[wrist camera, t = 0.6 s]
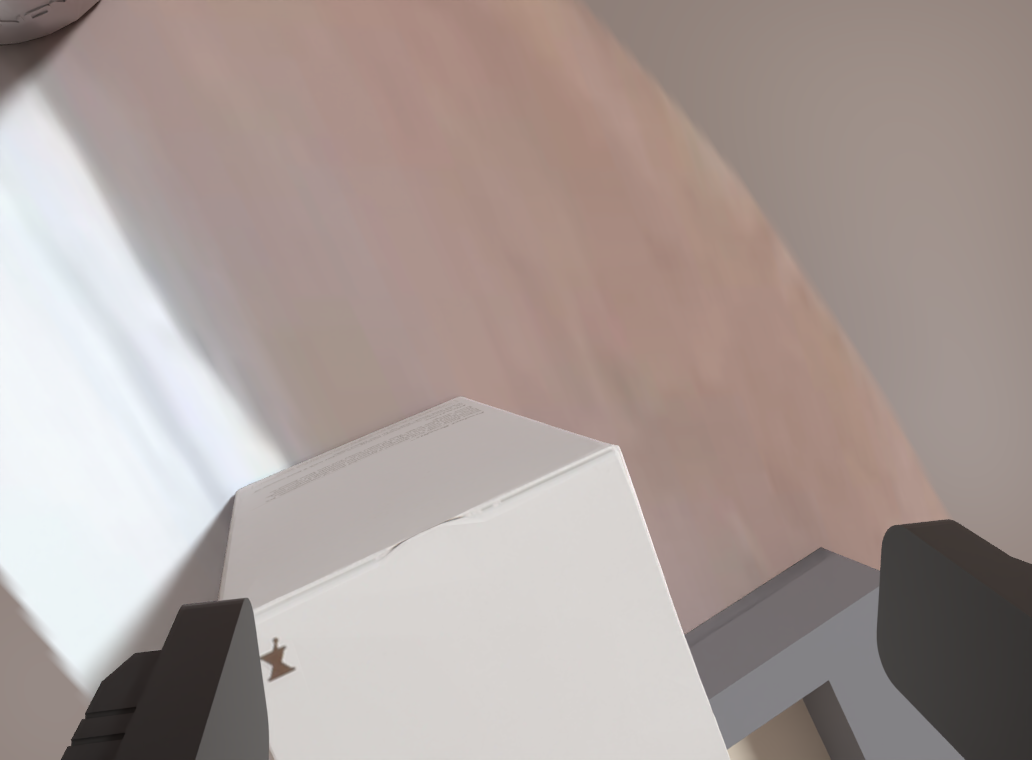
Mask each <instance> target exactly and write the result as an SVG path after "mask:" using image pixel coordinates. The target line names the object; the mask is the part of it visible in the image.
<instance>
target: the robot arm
mask: <svg viewBox="0 0 1032 760" xmlns="http://www.w3.org/2000/svg"><path fill="white" fill-rule="evenodd" d="M98 1H99V0H0V44H15V43H21V42H25V41H28V40H32V39H35V38H39V37H43V36H46V35H50V34H52V33H53V32H55V31H57V30H59V29H61V28H63V27H65V26H67V25H68V24H70V23H72V22H74V21H76V20H78V19H79V18H80V17H81V16H82V15H83V14H84V13H86V12H87V11H88V10H89V9H90V8H91V7H92V6H93V5H95V4H96V3H97V2H98ZM877 647H878V653H879V657H880V660H881V663H882V666H883V668H884V671H885V673H886V675H887V676H888V678H889V680H890V681H891V683H892V684H893V685H894V686H895V687H896V689H897V690H898V691H899V692H900V693H901V694H902V695H903V696H904V697H905V698H906V699H907V700H908V701H909V702H910V703H911V704H912V705H913V706H914V707H915V708H916V709H917V710H918V711H919V712H920V713H921V714H922V715H923V716H924V718H925V719H926V720H927V721H928V722H929V723H930V724H931V725H932V726H933V727H934V728H935V729H936V730H937V731H938V732H939V733H940V734H941V735H942V736H943V737H944V738H945V739H946V740H947V741H948V742H949V743H950V744H951V745H952V746H953V748H954V749H955V750H956V751H957V752H958V753H959V754H960V755H961V756H962V757H963V758H964V759H965V760H1032V564H1029V563H1027V562H1024V561H1022V560H1019V559H1016V558H1013V557H1011V556H1009V555H1007V554H1006V553H1005V552H1003V551H1001V550H1000V549H998V548H997V547H995V546H994V545H992V544H990V543H989V542H987V541H986V540H984V539H982V538H981V537H979V536H978V535H976V534H975V533H973V532H972V531H970V530H968V529H967V528H965V527H964V526H962V525H961V524H959V523H957V522H955V521H953V520H949V519H948V520H938V521H929V522H920V523H911V524H903V525H894V526H892V527H890V528H889V529H888V530H887V532H886V533H885V536H884V538H883V542H882V551H881V567H880V584H879V600H878V617H877ZM85 715H86V716H85V719H82V720H81V722H80V724H79V726H78V728H77V730H76V732H75V734H74V736H73V738H72V739H71V741H72V744H71V746H69V747H67V749H66V751H65V753H64V755H63V757H62V759H61V760H269V723H268V713H267V705H266V698H265V691H264V684H263V676H262V669H261V662H260V655H259V647H258V640H257V633H256V626H255V619H254V613H253V608H252V605H251V602H250V600H249V598H239V599H230V600H221V601H212V602H203V603H195V604H186V605H182V606H181V608H180V610H179V612H178V614H177V616H176V619H175V621H174V623H173V625H172V628H171V630H170V632H169V635H168V637H167V639H166V641H165V644H164V646H163V648H162V650H158V651H150V652H142V653H135V654H133V655H132V656H131V657H130V658H129V659H128V660H127V661H125V662H124V663H123V664H122V665H121V666H120V667H118V668H117V669H116V670H115V671H114V672H113V673H112V674H110V675H109V676H108V677H107V678H106V679H105V680H103V681H102V682H101V684H100V686H99V688H98V690H97V692H96V694H95V696H94V698H93V700H92V701H91V703H90V705H89V707H88V709H87V711H86V713H85Z"/></svg>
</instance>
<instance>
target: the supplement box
mask: <svg viewBox="0 0 1032 760" xmlns="http://www.w3.org/2000/svg"><path fill="white" fill-rule="evenodd" d="M239 598H249V600H250V602H251V605H252V608H253V613H254V619H255V626H256V633H257V640H258V647H259V655H260V662H261V669H262V676H263V684H264V691H265V698H266V705H267V713H268V723H269V760H730V757H729V754H728V751H727V748H726V746H725V743H724V740H723V737H722V735H721V732H720V730H719V727H718V724H717V721H716V718H715V716H714V714H713V712H712V709H711V705H710V703H709V700H708V698H707V695H706V693H705V690H704V687H703V685H702V682H701V679H700V677H699V674H698V671H697V668H696V666H695V663H694V660H693V657H692V654H691V652H690V649H689V646H688V644H687V641H686V638H685V636H684V633H683V630H682V628H681V625H680V622H679V619H678V616H677V613H676V610H675V608H674V605H673V602H672V599H671V596H670V593H669V590H668V587H667V584H666V581H665V578H664V575H663V572H662V569H661V566H660V563H659V560H658V558H657V555H656V552H655V549H654V546H653V543H652V540H651V537H650V534H649V531H648V528H647V526H646V523H645V520H644V517H643V514H642V511H641V507H640V504H639V501H638V498H637V496H636V493H635V490H634V487H633V484H632V481H631V478H630V475H629V472H628V470H627V467H626V464H625V461H624V458H623V455H622V453H621V450H620V448H619V446H617V445H613V444H608V443H605V442H601V441H598V440H595V439H591V438H588V437H585V436H582V435H578V434H575V433H572V432H569V431H566V430H563V429H560V428H557V427H553V426H550V425H547V424H545V423H542V422H538V421H535V420H532V419H529V418H526V417H523V416H520V415H517V414H514V413H511V412H508V411H505V410H502V409H498V408H495V407H492V406H489V405H486V404H483V403H480V402H477V401H474V400H471V399H468V398H465V397H457V398H454V399H452V400H450V401H447V402H445V403H442V404H440V405H438V406H435V407H433V408H430V409H428V410H426V411H423V412H421V413H418V414H416V415H414V416H411V417H409V418H406V419H404V420H402V421H399V422H397V423H394V424H392V425H389V426H387V427H385V428H382V429H380V430H377V431H375V432H373V433H370V434H368V435H366V436H363V437H361V438H358V439H356V440H354V441H351V442H349V443H347V444H344V445H342V446H340V447H337V448H335V449H332V450H330V451H328V452H325V453H323V454H321V455H318V456H316V457H314V458H311V459H309V460H306V461H304V462H302V463H299V464H297V465H295V466H292V467H290V468H288V469H285V470H283V471H280V472H278V473H276V474H273V475H271V476H268V477H266V478H264V479H261V480H259V481H257V482H254V483H252V484H249V485H247V486H245V487H243V488H241V489H239V490H238V491H237V492H236V494H235V499H234V505H233V511H232V517H231V522H230V528H229V534H228V541H227V546H226V552H225V558H224V565H223V571H222V576H221V582H220V588H219V593H218V599H217V601H221V600H230V599H239Z"/></svg>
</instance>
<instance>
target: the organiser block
mask: <svg viewBox="0 0 1032 760" xmlns="http://www.w3.org/2000/svg"><path fill="white" fill-rule="evenodd" d="M879 584H880V571H879V570H876V569H874V568H871V567H869V566H866V565H864V564H861V563H859V562H856V561H854V560H851V559H849V558H846V557H844V556H841V555H839V554H836V553H834V552H831V551H829V550H826V549H824V548H819V549H818V550H816V551H815V552H813V553H811V554H810V555H808V556H807V557H805V558H804V559H802V560H801V561H799V562H797V563H796V564H794V565H793V566H791V567H790V568H788V569H787V570H785V571H784V572H782V573H780V574H779V575H777V576H776V577H774V578H773V579H771V580H770V581H768V582H766V583H765V584H763V585H762V586H760V587H759V588H757V589H756V590H754V591H752V592H751V593H749V594H748V595H746V596H745V597H743V598H742V599H740V600H739V601H737V602H735V603H734V604H732V605H731V606H729V607H728V608H726V609H725V610H723V611H721V612H720V613H718V614H717V615H715V616H714V617H712V618H711V619H709V620H708V621H706V622H704V623H703V624H701V625H700V626H698V627H697V628H695V629H694V630H692V631H690V632H689V633H687V634H686V635H684V636H685V638H686V641H687V644H688V646H689V649H690V652H691V654H692V657H693V660H694V663H695V666H696V668H697V671H698V674H699V677H700V679H701V682H702V685H703V687H704V690H705V693H706V695H707V698H708V700H709V703H710V705H711V709H712V712H713V714H714V716H715V718H716V721H717V724H718V727H719V730H720V732H721V735H722V737H723V740H724V743H725V746H726V748H727V751H728V754H729V757H730V760H965V759H964V758H963V757H962V756H961V755H960V754H959V753H958V752H957V751H956V750H955V749H954V748H953V746H952V745H951V744H950V743H949V742H948V741H947V740H946V739H945V738H944V737H943V736H942V735H941V734H940V733H939V732H938V731H937V730H936V729H935V728H934V727H933V726H932V725H931V724H930V723H929V722H928V721H927V720H926V719H925V718H924V716H923V715H922V714H921V713H920V712H919V711H918V710H917V709H916V708H915V707H914V706H913V705H912V704H911V703H910V702H909V701H908V700H907V699H906V698H905V697H904V696H903V695H902V694H901V693H900V692H899V691H898V690H897V689H896V687H895V686H894V685H893V684H892V683H891V681H890V680H889V678H888V676H887V675H886V673H885V671H884V668H883V666H882V663H881V660H880V657H879V653H878V647H877V617H878V600H879Z"/></svg>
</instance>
